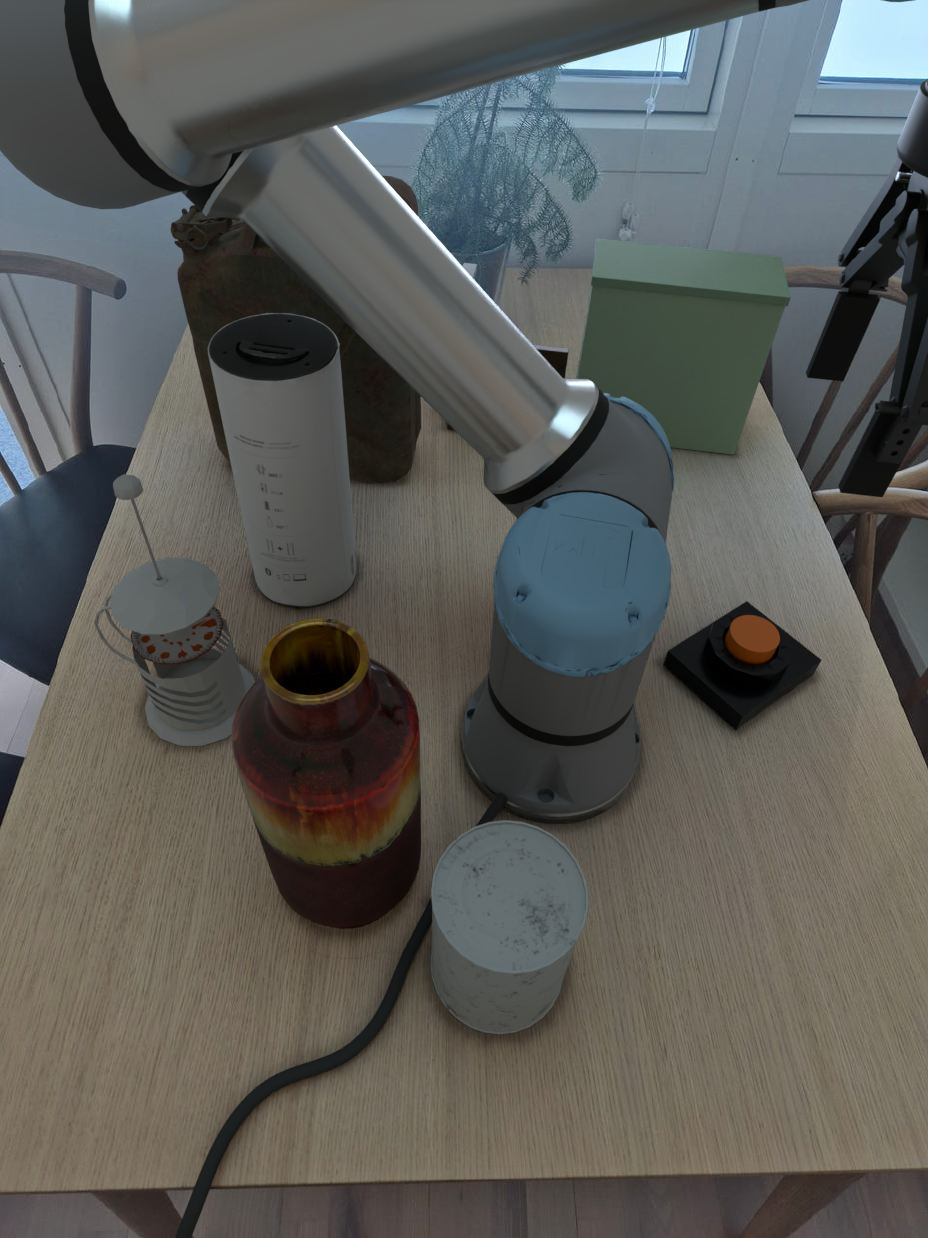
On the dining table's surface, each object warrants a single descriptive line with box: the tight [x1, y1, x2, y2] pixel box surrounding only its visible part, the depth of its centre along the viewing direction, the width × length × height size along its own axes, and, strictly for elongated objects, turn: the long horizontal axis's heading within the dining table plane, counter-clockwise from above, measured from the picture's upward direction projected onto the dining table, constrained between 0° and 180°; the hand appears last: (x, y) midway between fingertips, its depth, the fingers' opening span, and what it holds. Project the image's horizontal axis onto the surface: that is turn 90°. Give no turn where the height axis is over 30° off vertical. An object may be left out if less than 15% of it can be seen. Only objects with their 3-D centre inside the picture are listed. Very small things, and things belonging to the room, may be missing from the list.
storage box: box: [575, 237, 792, 456], centre depth 96 cm, size 20×9×20 cm, turn 81°
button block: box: [662, 600, 823, 731], centre depth 76 cm, size 11×9×4 cm
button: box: [725, 615, 780, 664], centre depth 74 cm, size 4×4×2 cm
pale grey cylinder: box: [430, 819, 589, 1036], centre depth 54 cm, size 10×10×12 cm
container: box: [170, 174, 422, 484], centre depth 86 cm, size 23×10×30 cm, turn 85°
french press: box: [94, 473, 256, 747], centre depth 64 cm, size 10×12×25 cm
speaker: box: [208, 313, 357, 608], centre depth 74 cm, size 11×10×26 cm
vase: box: [230, 618, 422, 930], centre depth 53 cm, size 11×11×26 cm
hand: (840, 430), depth 58 cm, fingers open, 13 cm apart
